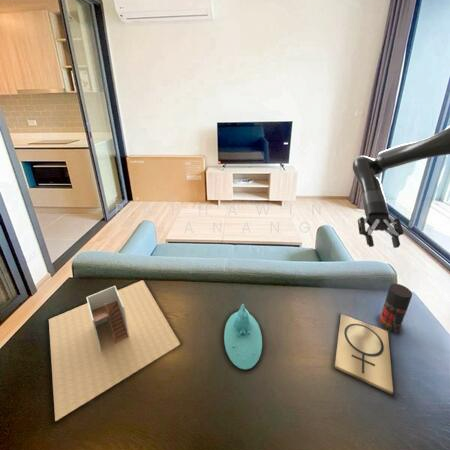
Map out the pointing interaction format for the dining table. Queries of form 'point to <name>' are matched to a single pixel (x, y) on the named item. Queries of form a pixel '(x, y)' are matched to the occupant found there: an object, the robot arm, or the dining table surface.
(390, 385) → the sketch board
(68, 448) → the dining table surface
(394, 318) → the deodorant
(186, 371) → the dining table surface
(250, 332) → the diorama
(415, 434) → the dining table surface
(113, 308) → the staircase
